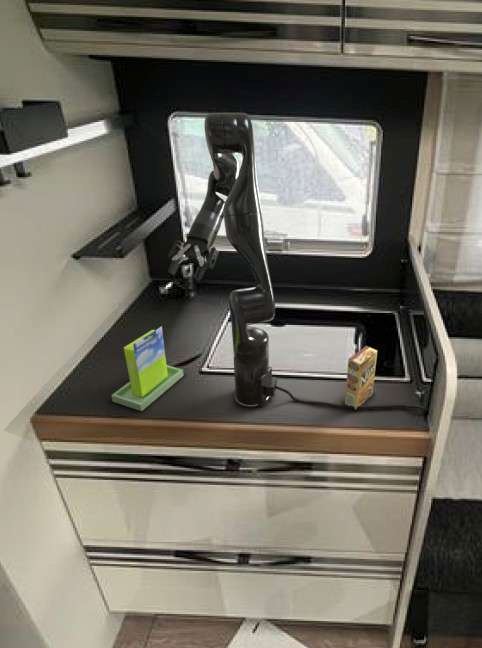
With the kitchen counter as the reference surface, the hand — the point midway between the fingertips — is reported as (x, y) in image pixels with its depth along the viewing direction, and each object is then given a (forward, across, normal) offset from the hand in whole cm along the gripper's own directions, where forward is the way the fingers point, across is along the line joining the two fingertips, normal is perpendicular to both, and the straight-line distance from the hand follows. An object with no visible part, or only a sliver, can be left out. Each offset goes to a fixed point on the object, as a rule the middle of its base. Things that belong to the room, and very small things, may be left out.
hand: (183, 276), depth 114 cm
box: (+31, -2, +9) cm, 32 cm away
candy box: (+18, +54, +22) cm, 61 cm away
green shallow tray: (+31, -2, +9) cm, 33 cm away
